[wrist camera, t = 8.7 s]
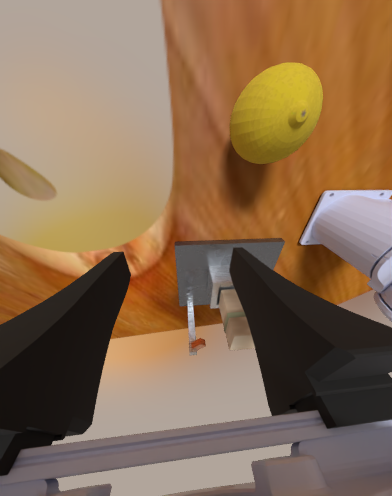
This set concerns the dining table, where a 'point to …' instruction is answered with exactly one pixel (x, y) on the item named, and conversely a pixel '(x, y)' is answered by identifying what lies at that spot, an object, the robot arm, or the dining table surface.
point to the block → (235, 321)
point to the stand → (213, 272)
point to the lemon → (276, 113)
